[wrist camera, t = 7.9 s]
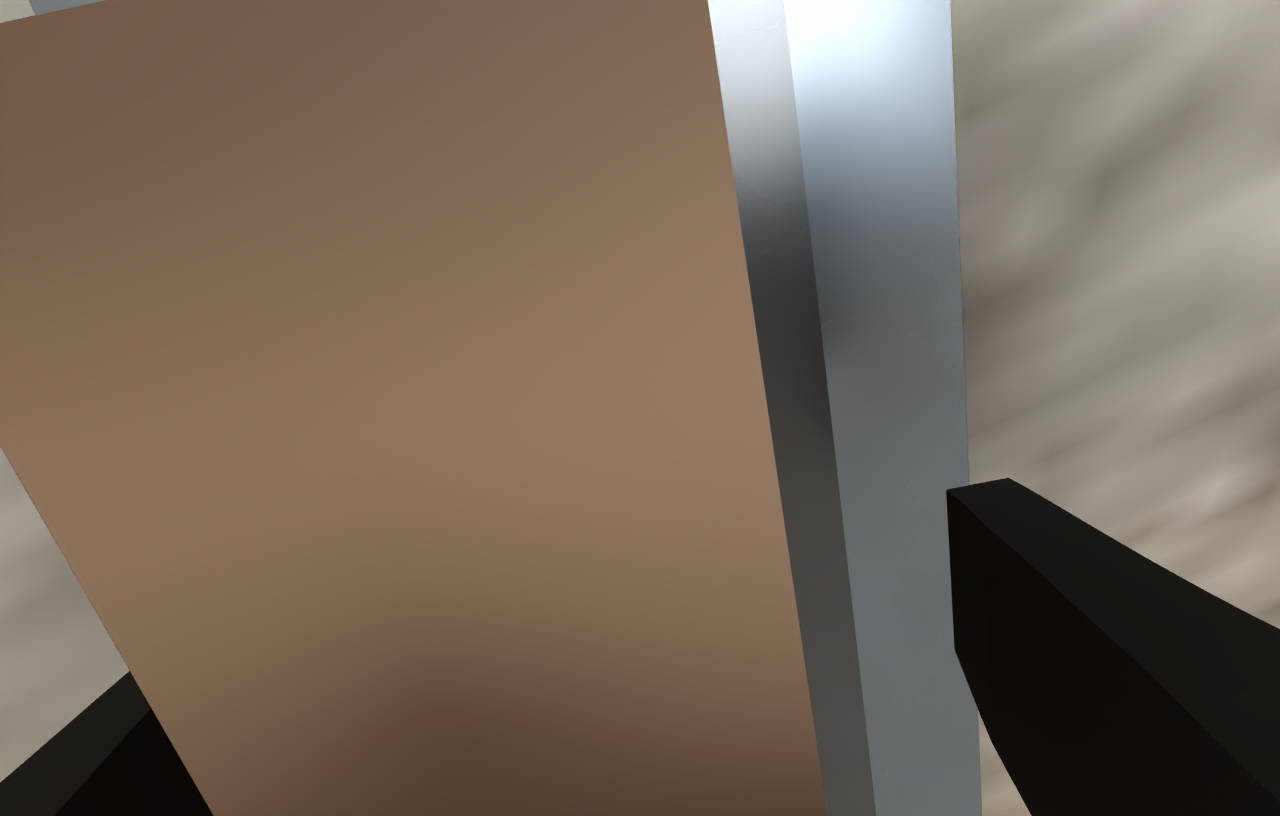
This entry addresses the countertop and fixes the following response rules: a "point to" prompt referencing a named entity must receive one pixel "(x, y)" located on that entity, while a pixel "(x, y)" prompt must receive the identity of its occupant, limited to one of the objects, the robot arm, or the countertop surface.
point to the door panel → (406, 400)
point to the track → (858, 371)
